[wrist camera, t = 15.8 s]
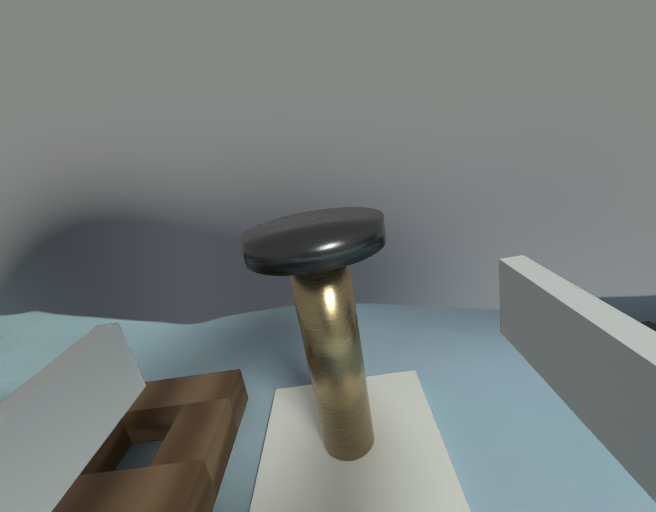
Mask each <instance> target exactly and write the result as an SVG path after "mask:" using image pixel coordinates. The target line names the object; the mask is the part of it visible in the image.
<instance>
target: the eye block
mask: <svg viewBox="0 0 656 512" xmlns="http://www.w3.org/2000/svg"><path fill="white" fill-rule="evenodd" d="M145 385H146V387H145V388H144V389H143V391H142V392H141V393H140V395H139V396H138V397H137V399H136V400H135V401H134V403H133V404H132V405H131V407H130V408H129V409H128V411H127V412H126V413H125V415H124V416H123V417H122V419H121V420H120V421H119V423H118V424H117V425H116V427H115V428H114V429H113V431H112V432H111V433H110V434H109V436H108V437H107V438H106V440H105V441H104V442H103V444H102V445H101V446H100V448H99V449H98V450H97V452H96V453H95V454H94V456H93V457H92V458H91V460H90V461H89V462H88V464H87V465H86V466H85V468H84V469H83V470H82V472H81V473H80V474H79V476H78V477H77V478H76V480H75V481H74V482H73V484H72V485H71V486H70V488H69V489H68V490H67V492H66V493H65V494H64V496H63V497H62V498H61V500H60V501H59V502H58V504H57V505H56V506H55V508H54V509H53V510H52V512H212V510H213V507H214V504H215V500H216V497H217V494H218V491H219V488H220V485H221V482H222V479H223V475H224V472H225V469H226V466H227V463H228V460H229V457H230V454H231V450H232V447H233V444H234V441H235V438H236V435H237V432H238V428H239V425H240V422H241V419H242V416H243V413H244V410H245V407H246V403H247V400H248V395H247V392H246V388H245V385H244V381H243V378H242V374H241V371H240V369H237V370H230V371H223V372H216V373H208V374H201V375H194V376H187V377H180V378H172V379H165V380H158V381H151V382H145ZM162 439H164V441H163V442H162V444H161V446H160V448H159V449H158V451H157V453H156V455H155V457H154V458H153V460H152V462H151V464H150V465H149V466H148V467H141V468H133V469H125V470H117V471H114V470H115V468H116V467H117V465H118V464H119V462H120V461H121V459H122V458H123V456H124V455H125V453H126V452H127V450H128V449H129V447H130V446H131V444H132V443H139V442H146V441H154V440H162Z"/></svg>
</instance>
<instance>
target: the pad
mask: <svg viewBox="0 0 656 512" xmlns="http://www.w3.org/2000/svg"><path fill="white" fill-rule="evenodd" d="M366 383H367V390H368V397H369V404H370V411H371V418H372V425H373V432H374V443H373V446H372V448H371V450H370V451H369V452H368V453H367V454H366V455H365V456H363V457H362V458H360V459H357V460H354V461H340V460H337V459H335V458H333V457H332V456H331V455H330V454H329V453H328V452H327V450H326V448H325V445H324V440H323V436H322V431H321V426H320V421H319V416H318V411H317V407H316V402H315V397H314V392H313V387H312V384H310V385H303V386H295V387H288V388H281V389H276V391H275V396H274V400H273V405H272V410H271V414H270V419H269V424H268V428H267V433H266V438H265V442H264V447H263V451H262V456H261V461H260V465H259V470H258V475H257V479H256V484H255V488H254V493H253V498H252V502H251V507H250V512H471V511H470V509H469V506H468V504H467V501H466V499H465V496H464V494H463V491H462V489H461V486H460V483H459V481H458V478H457V476H456V473H455V471H454V468H453V466H452V463H451V460H450V458H449V455H448V453H447V450H446V448H445V445H444V443H443V440H442V438H441V435H440V432H439V430H438V427H437V425H436V422H435V420H434V417H433V415H432V412H431V409H430V407H429V404H428V402H427V399H426V397H425V394H424V392H423V389H422V387H421V384H420V381H419V379H418V376H417V374H416V371H415V370H413V371H406V372H399V373H391V374H384V375H376V376H369V377H366Z"/></svg>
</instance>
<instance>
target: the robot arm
mask: <svg viewBox="0 0 656 512" xmlns="http://www.w3.org/2000/svg"><path fill="white" fill-rule="evenodd" d="M499 279H500V332H501V333H502V334H503V335H504V336H505V337H506V338H507V339H508V341H509V342H510V343H511V344H512V345H513V346H514V347H515V348H516V349H517V350H518V352H519V353H520V354H521V355H522V356H523V357H524V358H525V359H526V360H527V361H528V363H529V364H530V365H531V366H532V367H533V368H534V369H535V370H536V371H537V372H538V374H539V375H540V376H541V377H542V378H543V379H544V380H545V381H546V382H547V383H548V385H549V386H550V387H551V388H552V389H553V390H554V391H555V392H556V393H557V394H558V396H559V397H560V398H561V399H562V400H563V401H564V402H565V403H566V404H567V405H568V407H569V408H570V409H571V410H572V411H573V412H574V413H575V414H576V415H577V416H578V418H579V419H580V420H581V421H582V422H583V423H584V424H585V425H586V426H587V427H588V429H589V430H590V431H591V432H592V433H593V434H594V435H595V436H596V437H597V438H598V440H599V441H600V442H601V443H602V444H603V445H604V446H605V447H606V448H607V449H608V451H609V452H610V453H611V454H612V455H613V456H614V457H615V458H616V459H617V460H618V462H619V463H620V464H621V465H622V466H623V467H624V468H625V469H626V470H627V471H628V473H629V474H630V475H631V476H632V477H633V478H634V479H635V480H636V481H637V482H638V484H639V485H640V486H641V487H642V488H643V489H644V490H645V491H646V492H647V493H648V495H649V496H650V497H651V498H652V499H653V500H654V501H655V502H656V324H655V323H652V322H649V321H648V322H641V323H640V322H638V321H636V320H635V319H633V318H631V317H630V316H628V315H626V314H624V313H623V312H621V311H619V310H617V309H616V308H614V307H612V306H611V305H609V304H607V303H605V302H604V301H602V300H600V299H598V298H597V297H595V296H593V295H591V294H590V293H588V292H586V291H585V290H583V289H581V288H579V287H578V286H576V285H574V284H572V283H571V282H569V281H567V280H565V279H564V278H562V277H560V276H559V275H557V274H555V273H553V272H552V271H550V270H548V269H546V268H545V267H543V266H541V265H539V264H538V263H536V262H534V261H532V260H531V259H529V258H527V257H526V256H524V255H520V256H514V257H508V258H502V259H499ZM145 387H146V385H145V382H144V380H143V378H142V375H141V373H140V371H139V369H138V366H137V364H136V362H135V359H134V357H133V355H132V353H131V350H130V348H129V346H128V343H127V341H126V339H125V336H124V334H123V332H122V330H121V327H120V325H119V323H118V322H116V323H110V324H104V325H98V326H96V327H95V328H94V329H93V330H91V331H90V332H89V333H88V334H86V335H85V336H84V337H83V338H81V339H80V340H79V341H78V342H76V343H75V344H74V345H72V346H71V347H70V348H69V349H67V350H66V351H65V352H64V353H62V354H61V355H60V356H59V357H57V358H56V359H55V360H53V361H52V362H51V363H50V364H48V365H47V366H46V367H45V368H43V369H42V370H41V371H40V372H38V373H37V374H36V375H35V376H33V377H32V378H31V379H29V380H28V381H27V382H26V383H24V384H23V385H22V386H21V387H19V388H18V389H17V390H16V391H14V392H13V393H12V394H10V395H9V396H8V397H7V398H5V399H4V400H3V401H2V402H0V512H52V510H53V509H54V508H55V506H56V505H57V504H58V502H59V501H60V500H61V498H62V497H63V496H64V494H65V493H66V492H67V490H68V489H69V488H70V486H71V485H72V484H73V482H74V481H75V480H76V478H77V477H78V476H79V474H80V473H81V472H82V470H83V469H84V468H85V466H86V465H87V464H88V462H89V461H90V460H91V458H92V457H93V456H94V454H95V453H96V452H97V450H98V449H99V448H100V446H101V445H102V444H103V442H104V441H105V440H106V438H107V437H108V436H109V434H110V433H111V432H112V431H113V429H114V428H115V427H116V425H117V424H118V423H119V421H120V420H121V419H122V417H123V416H124V415H125V413H126V412H127V411H128V409H129V408H130V407H131V405H132V404H133V403H134V401H135V400H136V399H137V397H138V396H139V395H140V393H141V392H142V391H143V389H144V388H145Z"/></svg>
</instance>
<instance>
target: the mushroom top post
mask: <svg viewBox="0 0 656 512" xmlns="http://www.w3.org/2000/svg"><path fill="white" fill-rule="evenodd" d="M239 240H240V244H241V248H242V252H243V256H244V260H245V264H246V267H247V268H248V269H249V270H251V271H253V272H256V273H259V274H264V275H273V276H289V277H290V281H291V286H292V290H293V295H294V301H295V305H296V310H297V315H298V320H299V325H300V330H301V334H302V339H303V344H304V349H305V354H306V358H307V363H308V368H309V373H310V378H311V383H312V387H313V392H314V397H315V402H316V407H317V411H318V416H319V421H320V426H321V431H322V436H323V440H324V445H325V448H326V450H327V452H328V453H329V454H330V455H331V456H332V457H333V458H335V459H337V460H340V461H354V460H357V459H360V458H362V457H363V456H365V455H366V454H367V453H368V452H369V451H370V450H371V448H372V446H373V443H374V432H373V425H372V418H371V411H370V404H369V397H368V390H367V383H366V376H365V369H364V362H363V356H362V349H361V342H360V335H359V328H358V321H357V314H356V307H355V300H354V293H353V287H352V280H351V273H350V266H349V265H351V264H354V263H356V262H359V261H362V260H364V259H366V258H368V257H370V256H372V255H374V254H375V253H377V252H378V251H380V250H381V249H382V248H383V247H384V245H385V243H386V235H385V226H384V216H383V213H382V212H381V211H379V210H376V209H372V208H363V207H343V208H331V209H322V210H315V211H309V212H303V213H298V214H293V215H289V216H285V217H281V218H278V219H274V220H271V221H268V222H265V223H262V224H259V225H257V226H255V227H253V228H251V229H249V230H247V231H245V232H244V233H243V234H242V235H241V236H240V238H239Z"/></svg>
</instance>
